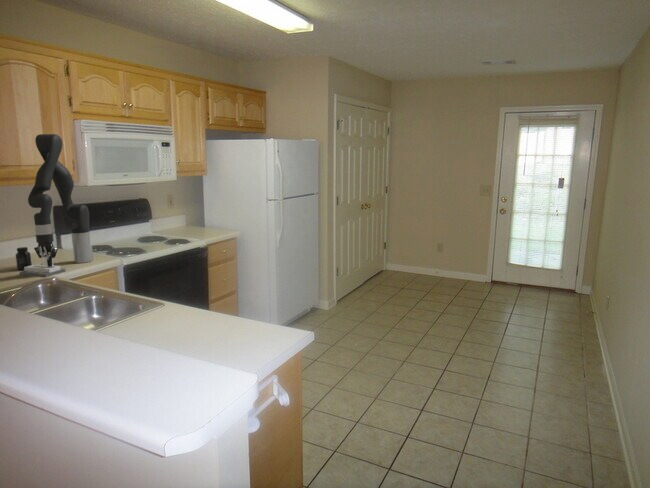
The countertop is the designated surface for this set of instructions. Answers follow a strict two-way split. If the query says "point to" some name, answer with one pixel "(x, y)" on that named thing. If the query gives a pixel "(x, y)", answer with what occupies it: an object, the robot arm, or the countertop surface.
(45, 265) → the fader
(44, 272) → the console
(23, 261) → the supplement bottle
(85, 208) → the robot arm
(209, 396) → the countertop surface
